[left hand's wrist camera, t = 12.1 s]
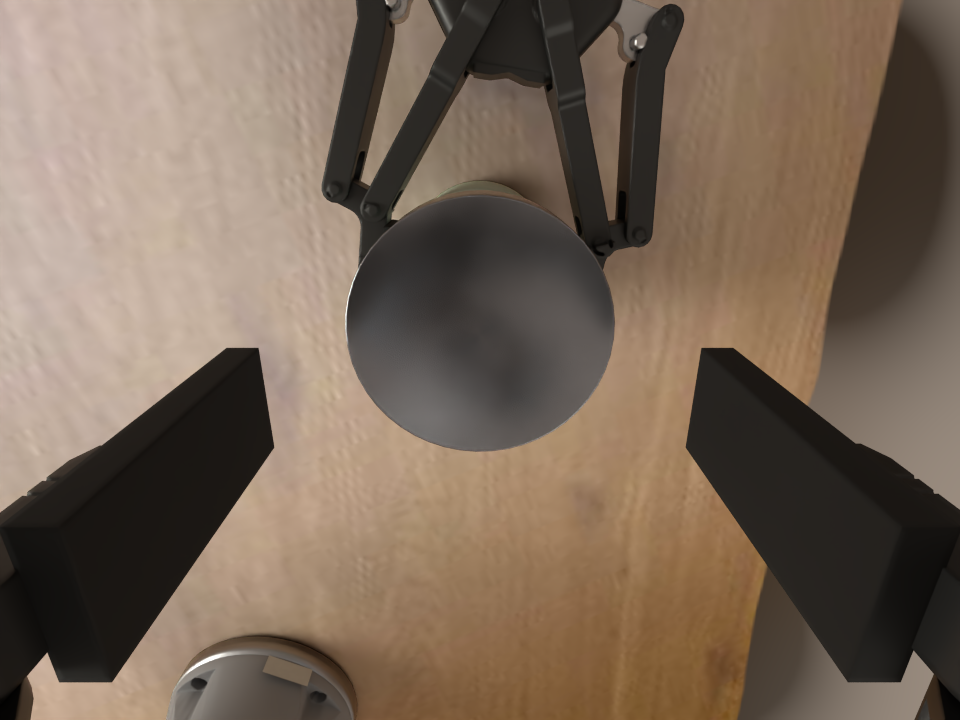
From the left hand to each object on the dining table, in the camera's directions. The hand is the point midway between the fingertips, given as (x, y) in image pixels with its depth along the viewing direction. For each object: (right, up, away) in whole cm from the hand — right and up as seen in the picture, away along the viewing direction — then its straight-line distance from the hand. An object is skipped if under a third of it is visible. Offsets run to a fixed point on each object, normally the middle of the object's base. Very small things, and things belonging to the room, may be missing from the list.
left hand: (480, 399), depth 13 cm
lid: (0, +2, +5) cm, 5 cm away
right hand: (-1, +1, +16) cm, 16 cm away
